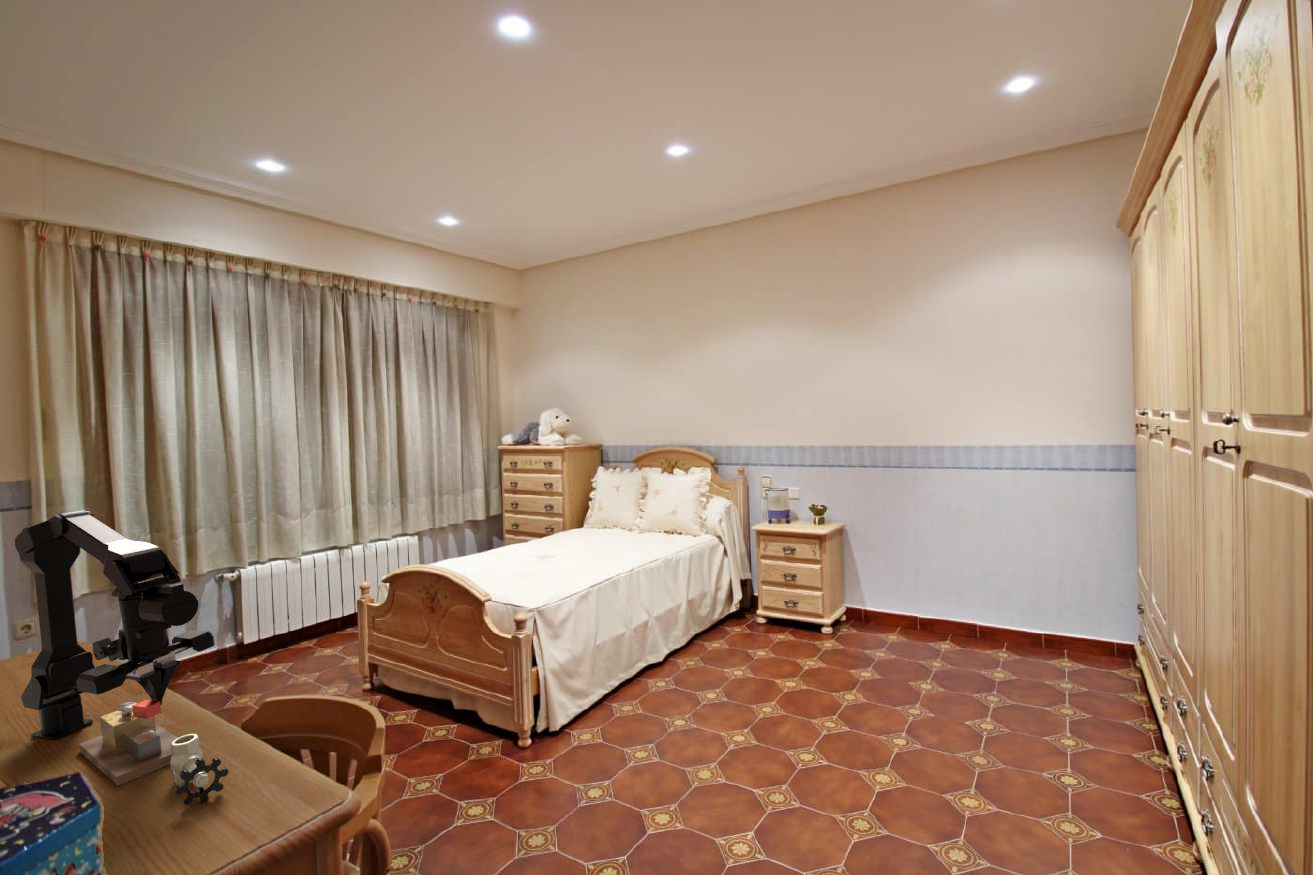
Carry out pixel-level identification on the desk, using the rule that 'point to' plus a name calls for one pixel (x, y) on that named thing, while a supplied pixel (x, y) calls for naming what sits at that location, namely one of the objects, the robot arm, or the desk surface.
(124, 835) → the desk surface
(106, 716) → the beige stepped block
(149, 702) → the lever
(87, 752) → the valve plank
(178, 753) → the valve
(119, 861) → the desk surface
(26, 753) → the desk surface
